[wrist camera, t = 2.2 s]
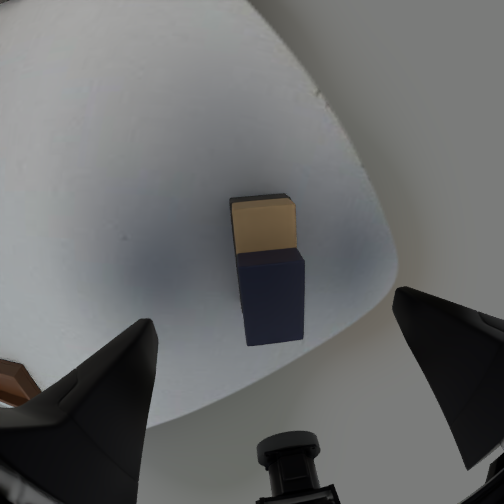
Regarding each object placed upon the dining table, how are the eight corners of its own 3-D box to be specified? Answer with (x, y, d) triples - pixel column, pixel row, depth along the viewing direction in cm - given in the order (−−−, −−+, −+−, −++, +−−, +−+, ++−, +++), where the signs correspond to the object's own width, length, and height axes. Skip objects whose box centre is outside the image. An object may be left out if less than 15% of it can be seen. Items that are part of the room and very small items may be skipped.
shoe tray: (51, 405, 19) (45, 418, 17) (-5, 387, 19) (-11, 396, 17) (22, 364, 17) (14, 377, 15) (-29, 350, 16) (-36, 360, 15)
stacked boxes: (289, 296, 16) (305, 341, 12) (241, 302, 15) (245, 349, 12) (285, 193, 13) (307, 211, 10) (229, 198, 13) (228, 218, 10)
